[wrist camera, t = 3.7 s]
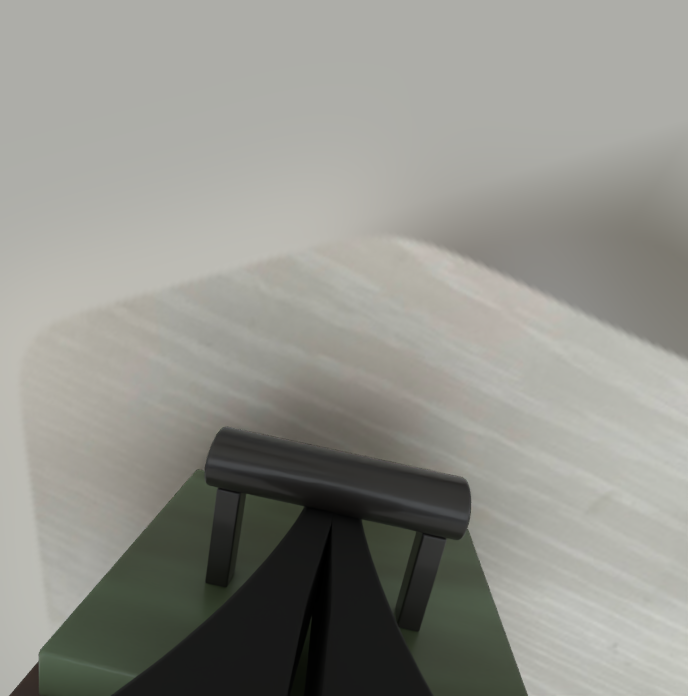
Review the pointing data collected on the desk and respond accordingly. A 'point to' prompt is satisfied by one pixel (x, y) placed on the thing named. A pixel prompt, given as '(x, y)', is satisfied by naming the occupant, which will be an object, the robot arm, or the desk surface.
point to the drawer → (258, 543)
